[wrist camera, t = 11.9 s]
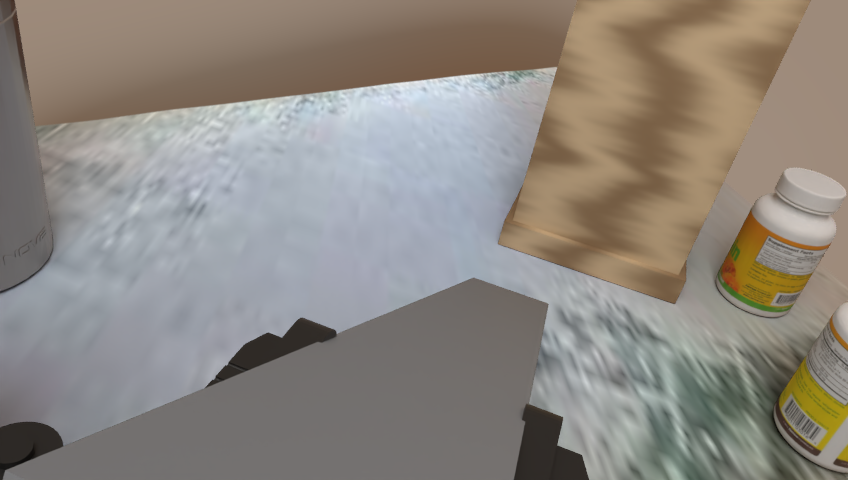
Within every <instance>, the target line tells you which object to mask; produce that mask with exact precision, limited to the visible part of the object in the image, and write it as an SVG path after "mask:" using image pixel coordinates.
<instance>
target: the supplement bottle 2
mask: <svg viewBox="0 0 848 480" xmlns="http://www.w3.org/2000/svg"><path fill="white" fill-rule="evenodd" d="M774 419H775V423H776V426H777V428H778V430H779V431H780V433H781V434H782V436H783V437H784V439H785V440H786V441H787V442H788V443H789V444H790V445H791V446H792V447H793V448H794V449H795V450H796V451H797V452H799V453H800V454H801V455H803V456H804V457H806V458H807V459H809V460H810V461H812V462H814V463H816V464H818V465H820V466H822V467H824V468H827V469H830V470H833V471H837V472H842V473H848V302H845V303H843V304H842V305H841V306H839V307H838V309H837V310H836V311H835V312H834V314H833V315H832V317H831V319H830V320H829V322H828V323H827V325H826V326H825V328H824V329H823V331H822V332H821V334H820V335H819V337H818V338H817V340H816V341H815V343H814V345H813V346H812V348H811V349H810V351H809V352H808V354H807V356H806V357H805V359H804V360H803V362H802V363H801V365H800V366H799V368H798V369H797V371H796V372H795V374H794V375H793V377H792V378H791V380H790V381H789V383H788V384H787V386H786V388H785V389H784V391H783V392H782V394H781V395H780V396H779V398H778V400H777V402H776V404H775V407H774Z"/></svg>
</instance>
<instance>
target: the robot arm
mask: <svg viewBox="0 0 848 480" xmlns="http://www.w3.org/2000/svg"><path fill="white" fill-rule="evenodd" d="M52 249H53V237H52V231H51V225H50V218H49V212H48V206H47V199H46V193H45V185H44V179H43V172H42V166H41V160H40V154H39V148H38V141H37V135H36V129H35V123H34V117H33V111H32V105H31V98H30V92H29V86H28V80H27V74H26V67H25V61H24V55H23V49H22V43H21V36H20V30H19V24H18V18H17V11H16V6H15V1H14V0H0V291H2V290H5V289H7V288H10V287H12V286H14V285H16V284H18V283H20V282H22V281H23V280H25V279H27V278H29V277H30V276H31V275H33V274H34V273H35V272H36V271H38V270H39V269H40V268H41V267H42V266H43V265H44V263H45V262H46V261H47V260H48V259H49V256H50V254H51V252H52ZM334 337H336V331H335V330H334V329H331V328H328V327H326V326H323V325H320V324H318V323H315V322H313V321H310V320H307V319H305V318H300V319H298V320H297V321H296V322H295V323H294V324H293V326H292V327H291V328H290V329H289V330H288V332H287V333H286V334H285V335H284V336H283V337H282V338H281V337H278V336H276V335H273V334H271V333H266V334H264V335H262V336H260V337H258V338H256V339H254V340H252V341H250V342H248V343H246V344H245V345H244V346H243V347H242V348H241V349H240V350H239V351H238V352H237V353H236V354H235V356H234V357H233V358H232V359H231V360H230V361H229V363H228V365H227V366H226V365H225V367H224V368H223V369H222V370H221V371H220V372H219V373H218V374H217V375H216V378H215V379H214V380H212V381H211V382H210V383H209V384H208V385H207V386H206V387H205V388H207V387H209V386H212V385H214V384H217V383H219V382H221V381H224V380H226V379H229V378H231V377H234V376H236V375H238V374H241V373H243V372H246V371H248V370H251V369H253V368H255V367H258V366H260V365H263V364H265V363H268V362H270V361H272V360H275V359H277V358H280V357H282V356H285V355H287V354H289V353H292V352H294V351H297V350H299V349H302V348H304V347H306V346H309V345H311V344H314V343H316V342H320V343H322V342H325V341H327V340H329V339H332V338H334ZM522 420H523V421H525V425H524V431H523V436H522V441H521V446H520V451H519V456H518V461H517V466H516V471H515V476H514V480H589V478H588V475H587V471H586V468H585V464H584V461H583V457H582V455H580V454H578V453H575V452H573V451H570V450H568V449H565V448H562V447H560V446H557V443H558V439H559V435H560V430H561V426H562V421H563V417H561V416H558V415H556V414H553V413H550V412H548V411H545V410H543V409H540V408H537V407H535V406H532V405H529V404H527V403H526V405H525V408H524V412H523V417H522ZM61 447H63V442H62V439H61V436H60V435H59V434H58V432H57V431H56V430H54V429H53V428H51V427H50V426H48V425H45V424H42V423H36V422H20V423H14V424H9V425H6V426H3V427H0V480H3V477H4V473H5V470H7V469H10V468H12V467H15V466H17V465H20V464H22V463H24V462H27V461H29V460H32V459H34V458H37V457H39V456H41V455H44V454H46V453H49V452H51V451H54V450H56V449H58V448H61Z"/></svg>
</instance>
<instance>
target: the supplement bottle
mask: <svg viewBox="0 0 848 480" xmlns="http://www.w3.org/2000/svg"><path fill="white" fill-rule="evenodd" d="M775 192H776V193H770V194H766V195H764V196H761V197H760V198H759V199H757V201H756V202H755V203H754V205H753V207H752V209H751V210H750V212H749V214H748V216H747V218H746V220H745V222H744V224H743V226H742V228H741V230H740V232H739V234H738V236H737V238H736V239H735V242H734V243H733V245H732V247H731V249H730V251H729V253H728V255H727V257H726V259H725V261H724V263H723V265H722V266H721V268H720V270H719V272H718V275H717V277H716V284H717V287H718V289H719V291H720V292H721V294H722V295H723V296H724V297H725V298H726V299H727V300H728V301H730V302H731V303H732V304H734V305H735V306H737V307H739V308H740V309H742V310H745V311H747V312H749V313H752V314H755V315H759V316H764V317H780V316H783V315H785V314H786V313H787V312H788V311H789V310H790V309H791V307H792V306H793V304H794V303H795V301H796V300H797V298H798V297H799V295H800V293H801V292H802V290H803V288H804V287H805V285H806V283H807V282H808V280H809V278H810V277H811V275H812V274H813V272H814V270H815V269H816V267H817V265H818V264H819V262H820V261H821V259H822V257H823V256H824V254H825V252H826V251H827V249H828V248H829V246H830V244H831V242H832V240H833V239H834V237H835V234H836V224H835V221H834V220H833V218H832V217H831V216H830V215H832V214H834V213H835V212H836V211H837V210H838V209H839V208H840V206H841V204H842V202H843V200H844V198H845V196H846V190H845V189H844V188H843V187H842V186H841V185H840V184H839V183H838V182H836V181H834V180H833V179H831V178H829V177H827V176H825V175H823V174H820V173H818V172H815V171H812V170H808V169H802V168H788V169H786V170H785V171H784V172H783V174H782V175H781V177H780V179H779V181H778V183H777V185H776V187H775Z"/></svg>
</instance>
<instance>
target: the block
mask: <svg viewBox="0 0 848 480" xmlns="http://www.w3.org/2000/svg"><path fill="white" fill-rule="evenodd" d="M547 309H548V304H547V303H545V302H542V301H539V300H536V299H533V298H530V297H527V296H524V295H522V294H519V293H516V292H513V291H510V290H507V289H504V288H502V287H499V286H496V285H493V284H490V283H487V282H484V281H482V280H479V279H476V278H472V279H469V280H467V281H465V282H462V283H460V284H457V285H455V286H452V287H450V288H448V289H445V290H443V291H440V292H438V293H435V294H433V295H431V296H428V297H426V298H423V299H421V300H418V301H416V302H413V303H411V304H409V305H406V306H404V307H401V308H399V309H396V310H394V311H392V312H389V313H387V314H384V315H382V316H379V317H377V318H375V319H372V320H370V321H367V322H365V323H362V324H360V325H358V326H355V327H353V328H350V329H348V330H345V331H343V332H341V333H338V334H336V337H334V338H332V339H329V340H327V341H325V342H322V343H320V342H316V343H314V344H311V345H309V346H306V347H304V348H302V349H299V350H297V351H294V352H292V353H289V354H287V355H285V356H282V357H280V358H277V359H275V360H272V361H270V362H268V363H265V364H263V365H260V366H258V367H255V368H253V369H251V370H248V371H246V372H243V373H241V374H238V375H236V376H234V377H231V378H229V379H226V380H224V381H221V382H219V383H217V384H214V385H212V386H209V387H207V388H204V389H202V390H199V391H197V392H195V393H192V394H190V395H187V396H185V397H182V398H180V399H178V400H175V401H173V402H170V403H168V404H165V405H163V406H161V407H158V408H156V409H153V410H151V411H148V412H146V413H144V414H141V415H139V416H136V417H134V418H131V419H129V420H127V421H124V422H122V423H119V424H117V425H114V426H112V427H110V428H107V429H105V430H102V431H100V432H97V433H95V434H92V435H90V436H88V437H85V438H83V439H80V440H78V441H75V442H73V443H71V444H68V445H66V446H63V447H61V448H58V449H56V450H54V451H51V452H49V453H46V454H44V455H41V456H39V457H37V458H34V459H32V460H29V461H27V462H24V463H22V464H20V465H17V466H15V467H12V468H10V469H7V470H5V473H4V477H3V480H514V476H515V471H516V466H517V461H518V456H519V451H520V446H521V441H522V436H523V431H524V425H525V421H523V420H522V417H523V412H524V408H525V405H526V403H527V404H529V400H530V395H531V390H532V385H533V380H534V375H535V370H536V365H537V360H538V355H539V350H540V345H541V340H542V335H543V329H544V324H545V319H546V314H547Z"/></svg>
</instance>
